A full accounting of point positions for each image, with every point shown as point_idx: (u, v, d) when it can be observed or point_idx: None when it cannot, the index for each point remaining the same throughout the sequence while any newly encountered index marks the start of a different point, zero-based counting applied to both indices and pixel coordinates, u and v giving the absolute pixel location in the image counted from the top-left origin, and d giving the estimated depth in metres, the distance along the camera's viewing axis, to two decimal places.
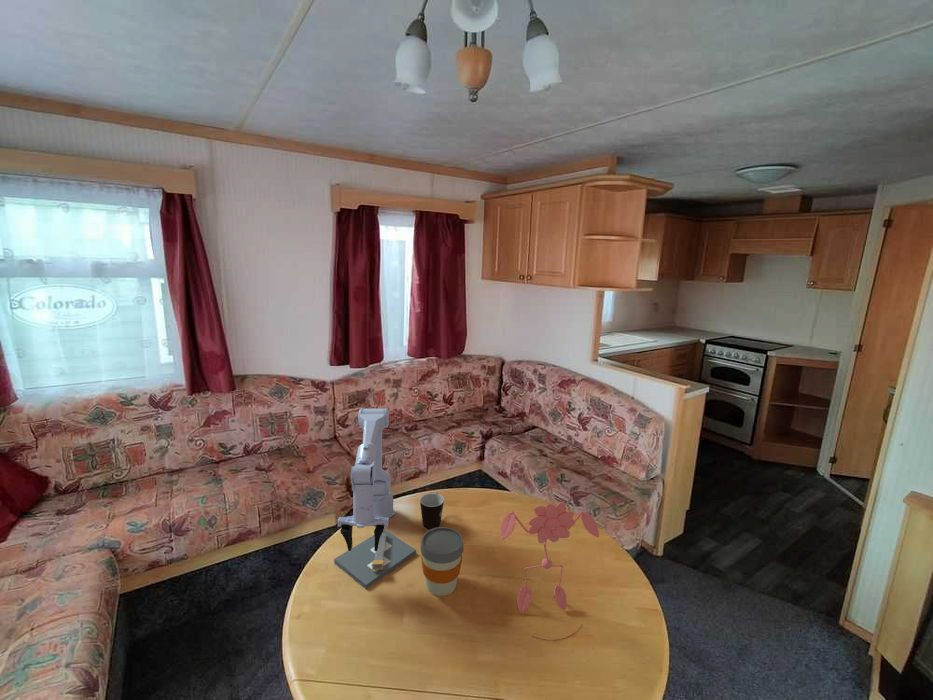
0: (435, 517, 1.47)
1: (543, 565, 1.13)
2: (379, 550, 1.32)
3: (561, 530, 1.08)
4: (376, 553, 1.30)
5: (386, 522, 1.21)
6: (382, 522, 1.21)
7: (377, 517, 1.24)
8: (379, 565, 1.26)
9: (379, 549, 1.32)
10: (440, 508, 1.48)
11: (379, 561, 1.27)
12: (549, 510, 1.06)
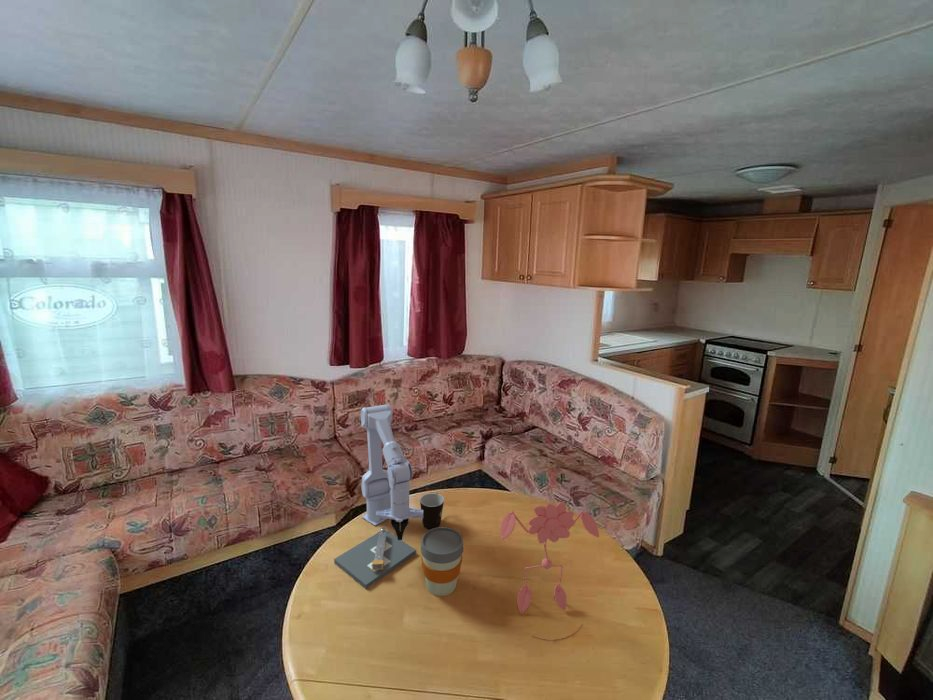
0: (435, 517, 1.47)
1: (543, 565, 1.13)
2: (379, 550, 1.32)
3: (561, 530, 1.08)
4: (376, 553, 1.30)
5: (422, 514, 1.30)
6: (418, 514, 1.30)
7: (412, 509, 1.32)
8: (379, 565, 1.26)
9: (379, 549, 1.32)
10: (440, 508, 1.48)
11: (379, 561, 1.27)
12: (549, 510, 1.06)
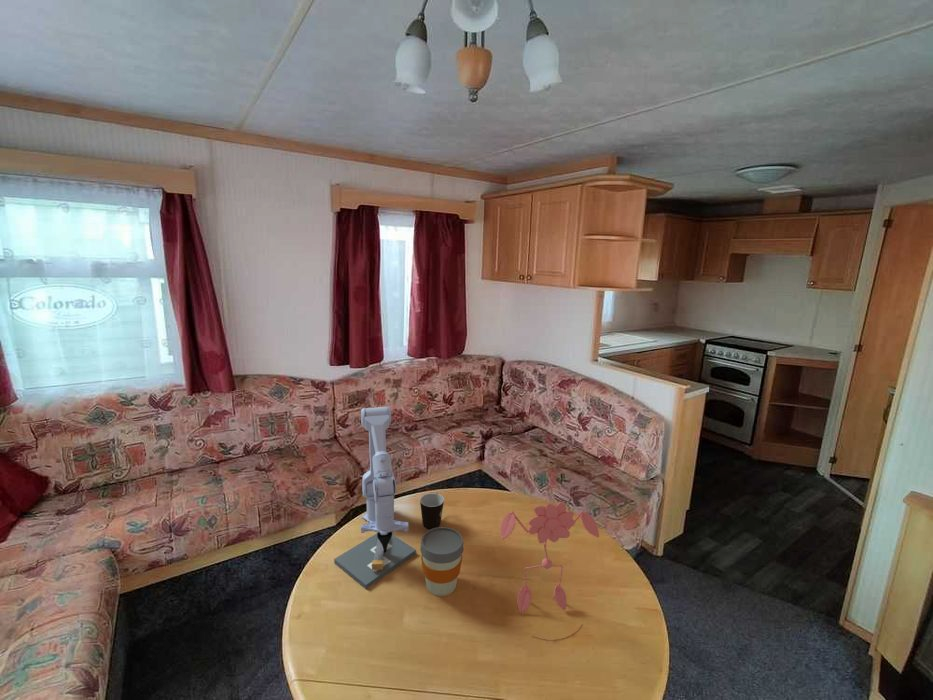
0: (435, 517, 1.47)
1: (543, 565, 1.13)
2: (379, 550, 1.32)
3: (561, 530, 1.08)
4: (376, 553, 1.30)
5: (407, 527, 1.31)
6: (403, 527, 1.31)
7: (397, 522, 1.33)
8: (379, 565, 1.26)
9: (379, 549, 1.32)
10: (440, 508, 1.48)
11: (379, 561, 1.27)
12: (549, 510, 1.06)
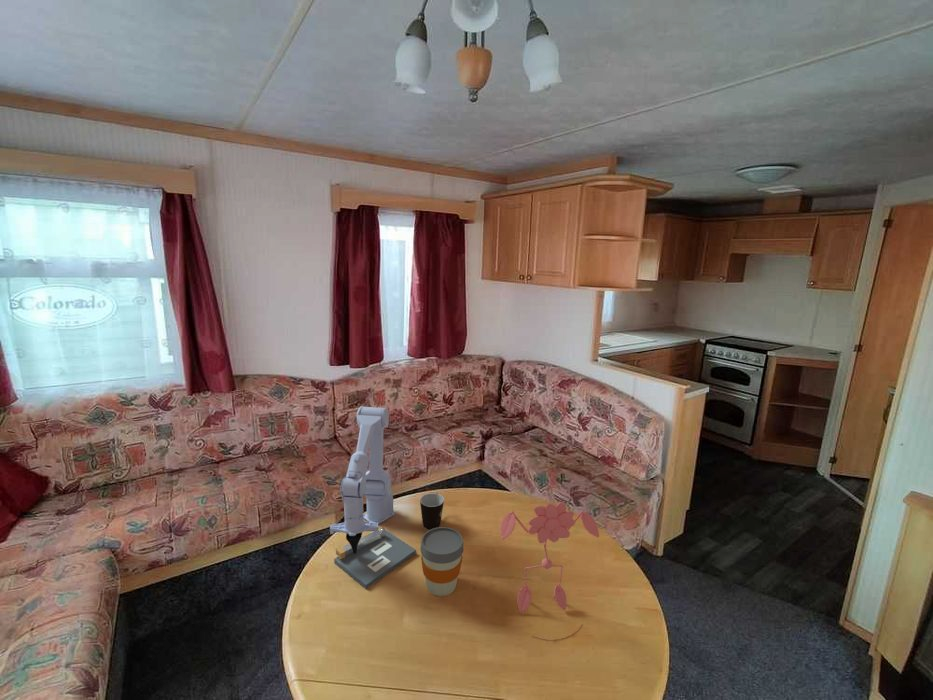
0: (435, 517, 1.47)
1: (543, 565, 1.13)
2: None
3: (561, 530, 1.08)
4: None
5: (376, 528, 1.30)
6: (372, 528, 1.30)
7: (367, 523, 1.32)
8: (338, 553, 1.30)
9: None
10: (440, 508, 1.48)
11: (341, 550, 1.31)
12: (549, 510, 1.06)
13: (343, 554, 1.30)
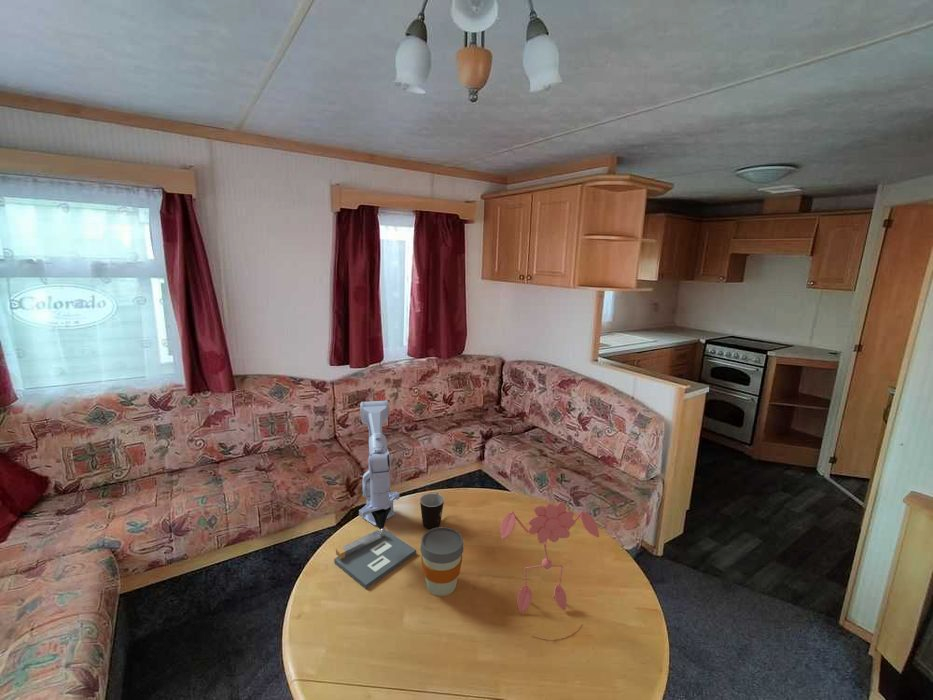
0: (435, 517, 1.47)
1: (543, 565, 1.13)
2: (355, 542, 1.35)
3: (561, 530, 1.08)
4: (351, 543, 1.34)
5: (398, 495, 1.37)
6: (396, 496, 1.36)
7: None
8: (338, 553, 1.30)
9: (357, 542, 1.35)
10: (440, 508, 1.48)
11: (341, 550, 1.31)
12: (549, 510, 1.06)
13: (343, 554, 1.30)
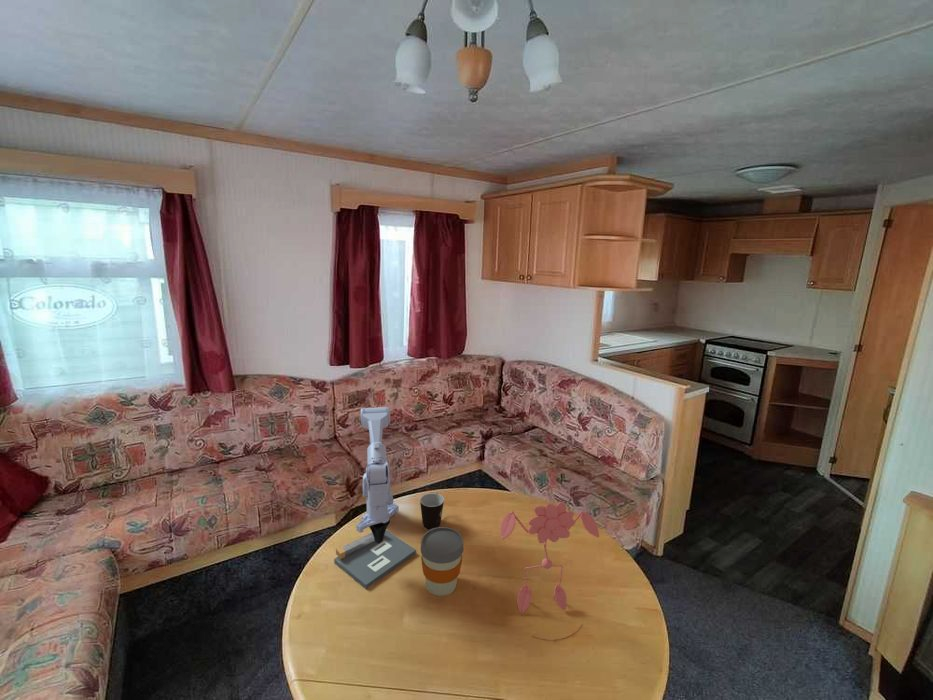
0: (435, 517, 1.47)
1: (543, 565, 1.13)
2: (355, 542, 1.35)
3: (561, 530, 1.08)
4: (351, 543, 1.34)
5: (397, 507, 1.31)
6: (395, 508, 1.30)
7: None
8: (338, 553, 1.30)
9: (357, 542, 1.35)
10: (440, 508, 1.48)
11: (341, 550, 1.31)
12: (549, 510, 1.06)
13: (343, 554, 1.30)
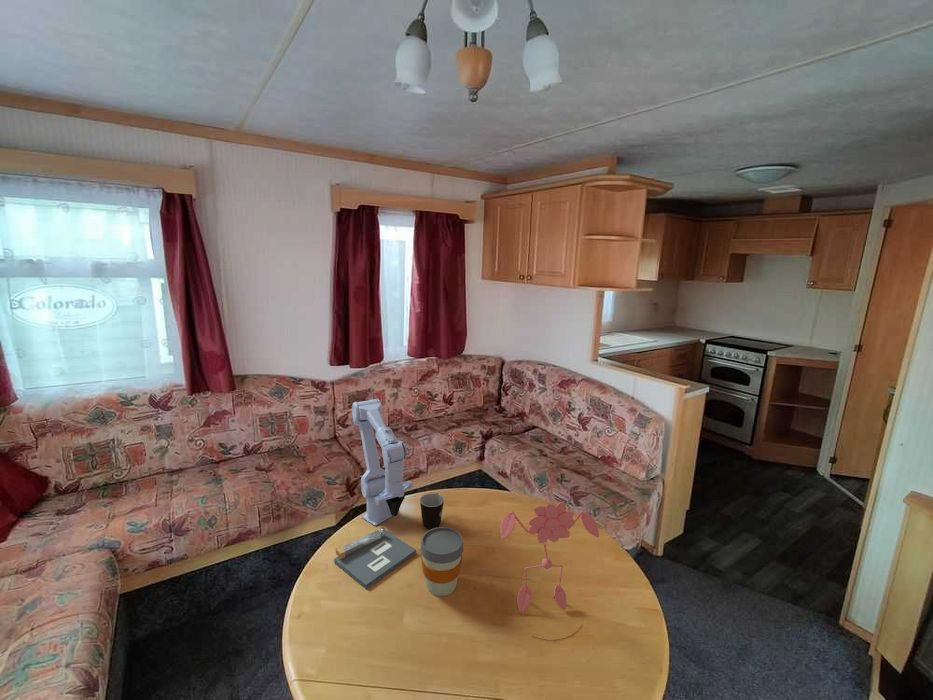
0: (435, 517, 1.47)
1: (543, 565, 1.13)
2: (355, 542, 1.35)
3: (561, 530, 1.08)
4: (351, 543, 1.34)
5: (411, 484, 1.42)
6: (409, 485, 1.41)
7: None
8: (338, 553, 1.30)
9: (357, 542, 1.35)
10: (440, 508, 1.48)
11: (341, 550, 1.31)
12: (549, 510, 1.06)
13: (343, 554, 1.30)
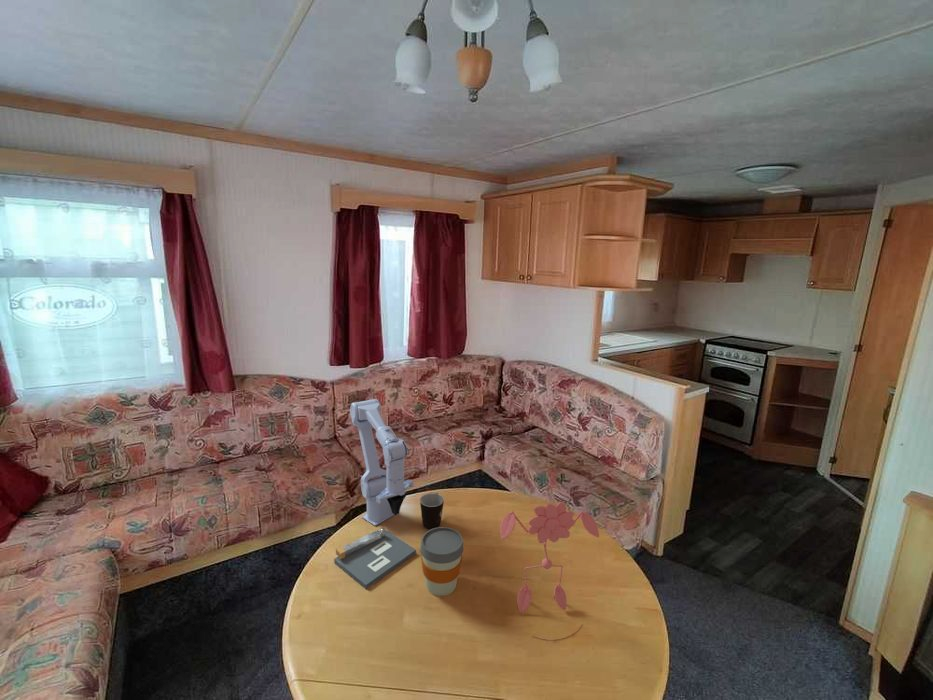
0: (435, 517, 1.47)
1: (543, 565, 1.13)
2: (355, 542, 1.35)
3: (561, 530, 1.08)
4: (351, 543, 1.34)
5: (412, 482, 1.43)
6: (410, 484, 1.42)
7: None
8: (338, 553, 1.30)
9: (357, 542, 1.35)
10: (440, 508, 1.48)
11: (341, 550, 1.31)
12: (549, 510, 1.06)
13: (343, 554, 1.30)
